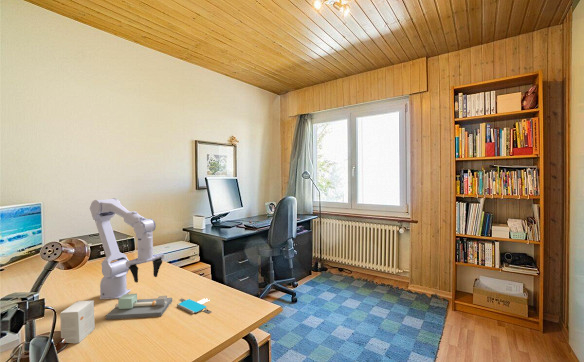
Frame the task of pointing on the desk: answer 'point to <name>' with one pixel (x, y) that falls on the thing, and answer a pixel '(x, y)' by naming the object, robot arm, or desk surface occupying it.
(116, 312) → the board
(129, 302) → the sleeve
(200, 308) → the blue flat gadget
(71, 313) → the small box
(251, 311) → the desk surface
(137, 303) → the wooden dowel
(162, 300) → the block
